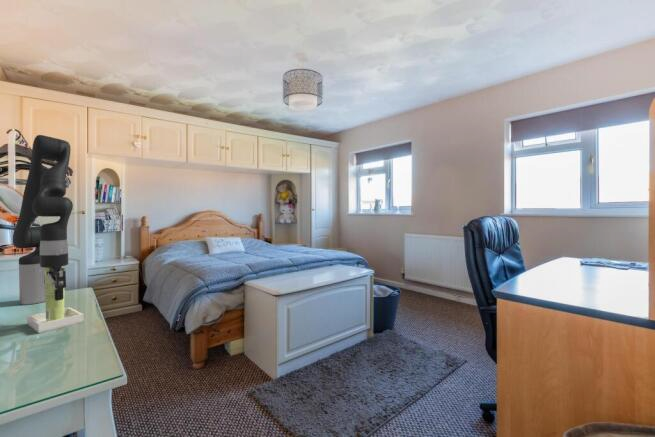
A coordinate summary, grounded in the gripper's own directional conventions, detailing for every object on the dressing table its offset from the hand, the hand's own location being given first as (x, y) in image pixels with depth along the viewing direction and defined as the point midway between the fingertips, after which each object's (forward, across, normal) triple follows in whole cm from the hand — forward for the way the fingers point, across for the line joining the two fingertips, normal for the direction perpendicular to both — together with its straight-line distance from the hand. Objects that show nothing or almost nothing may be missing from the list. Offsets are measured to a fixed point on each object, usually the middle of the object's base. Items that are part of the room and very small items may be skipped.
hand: (55, 297), depth 108 cm
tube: (+9, 0, 0) cm, 9 cm away
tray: (+9, 0, 0) cm, 9 cm away
